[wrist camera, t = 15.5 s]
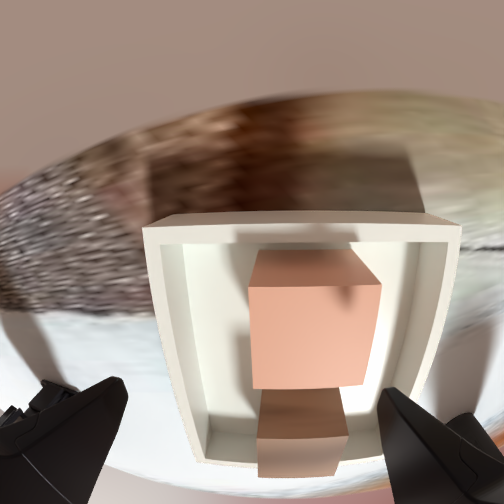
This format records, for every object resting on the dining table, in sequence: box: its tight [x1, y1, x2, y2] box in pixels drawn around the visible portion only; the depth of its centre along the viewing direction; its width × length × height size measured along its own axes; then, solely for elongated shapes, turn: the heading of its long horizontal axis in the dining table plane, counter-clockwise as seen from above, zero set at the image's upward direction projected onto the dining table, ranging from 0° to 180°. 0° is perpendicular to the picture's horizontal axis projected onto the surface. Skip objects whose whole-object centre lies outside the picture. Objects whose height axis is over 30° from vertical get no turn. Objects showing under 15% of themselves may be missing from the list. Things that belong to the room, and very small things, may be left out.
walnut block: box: [256, 387, 349, 478], centre depth 15 cm, size 5×5×5 cm
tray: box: [142, 210, 462, 468], centre depth 16 cm, size 18×15×4 cm
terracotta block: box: [248, 249, 382, 389], centre depth 13 cm, size 5×5×5 cm
